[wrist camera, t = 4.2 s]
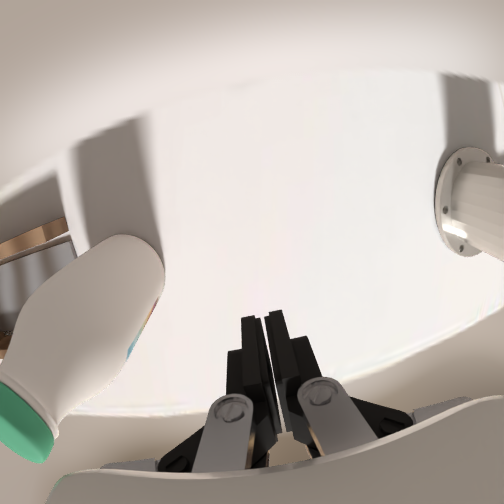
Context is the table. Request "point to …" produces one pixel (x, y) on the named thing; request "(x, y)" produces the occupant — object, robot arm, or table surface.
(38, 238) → the rest
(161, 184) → the table surface
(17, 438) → the milk bottle
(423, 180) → the table surface
